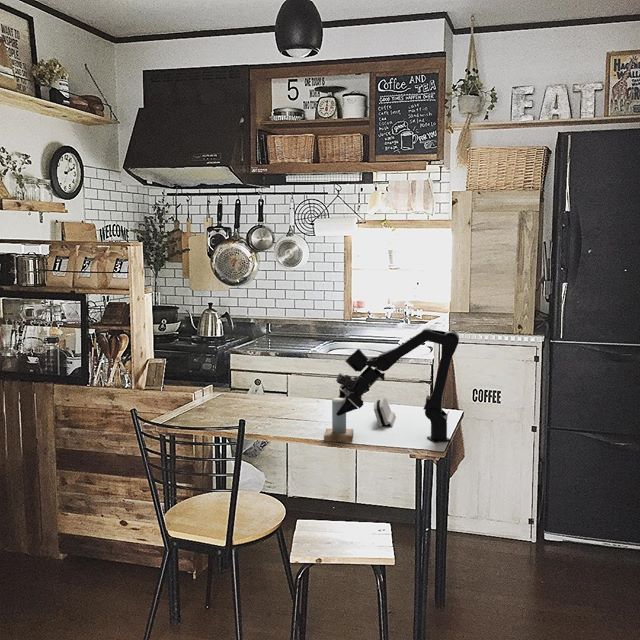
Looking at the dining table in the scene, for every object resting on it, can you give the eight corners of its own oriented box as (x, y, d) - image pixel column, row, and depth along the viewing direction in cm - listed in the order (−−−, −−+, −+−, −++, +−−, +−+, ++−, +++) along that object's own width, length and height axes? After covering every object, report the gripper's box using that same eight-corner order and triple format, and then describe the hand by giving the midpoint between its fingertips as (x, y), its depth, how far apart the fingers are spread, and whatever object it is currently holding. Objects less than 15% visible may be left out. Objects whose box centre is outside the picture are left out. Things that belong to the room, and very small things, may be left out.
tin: (348, 432, 279) (348, 399, 277) (337, 434, 276) (336, 401, 275) (341, 429, 283) (341, 397, 282) (329, 431, 280) (329, 398, 279)
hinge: (392, 427, 295) (383, 402, 294) (380, 430, 296) (371, 406, 295) (396, 416, 311) (387, 393, 310) (385, 420, 312) (376, 397, 311)
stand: (353, 434, 284) (353, 428, 284) (352, 441, 274) (352, 435, 274) (326, 433, 285) (326, 428, 285) (324, 441, 275) (324, 435, 275)
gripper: (345, 361, 287) (316, 391, 286) (354, 370, 268) (322, 402, 268) (366, 381, 288) (337, 411, 288) (376, 392, 270) (345, 424, 270)
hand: (335, 412), depth 279 cm, fingers open, 9 cm apart
